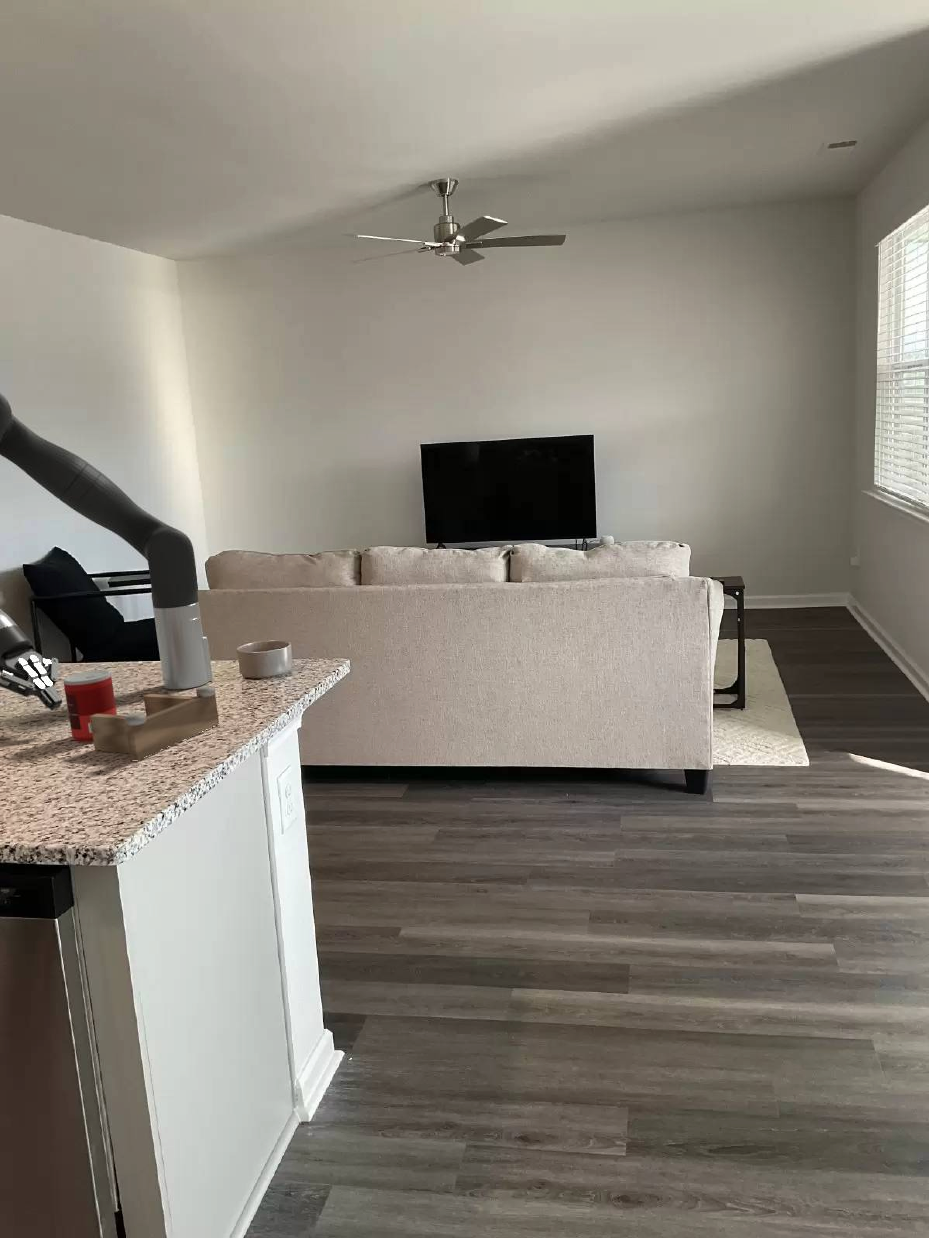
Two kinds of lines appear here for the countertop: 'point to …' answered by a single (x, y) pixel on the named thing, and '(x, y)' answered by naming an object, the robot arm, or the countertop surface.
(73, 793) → the countertop surface
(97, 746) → the bracket
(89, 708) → the canned food
